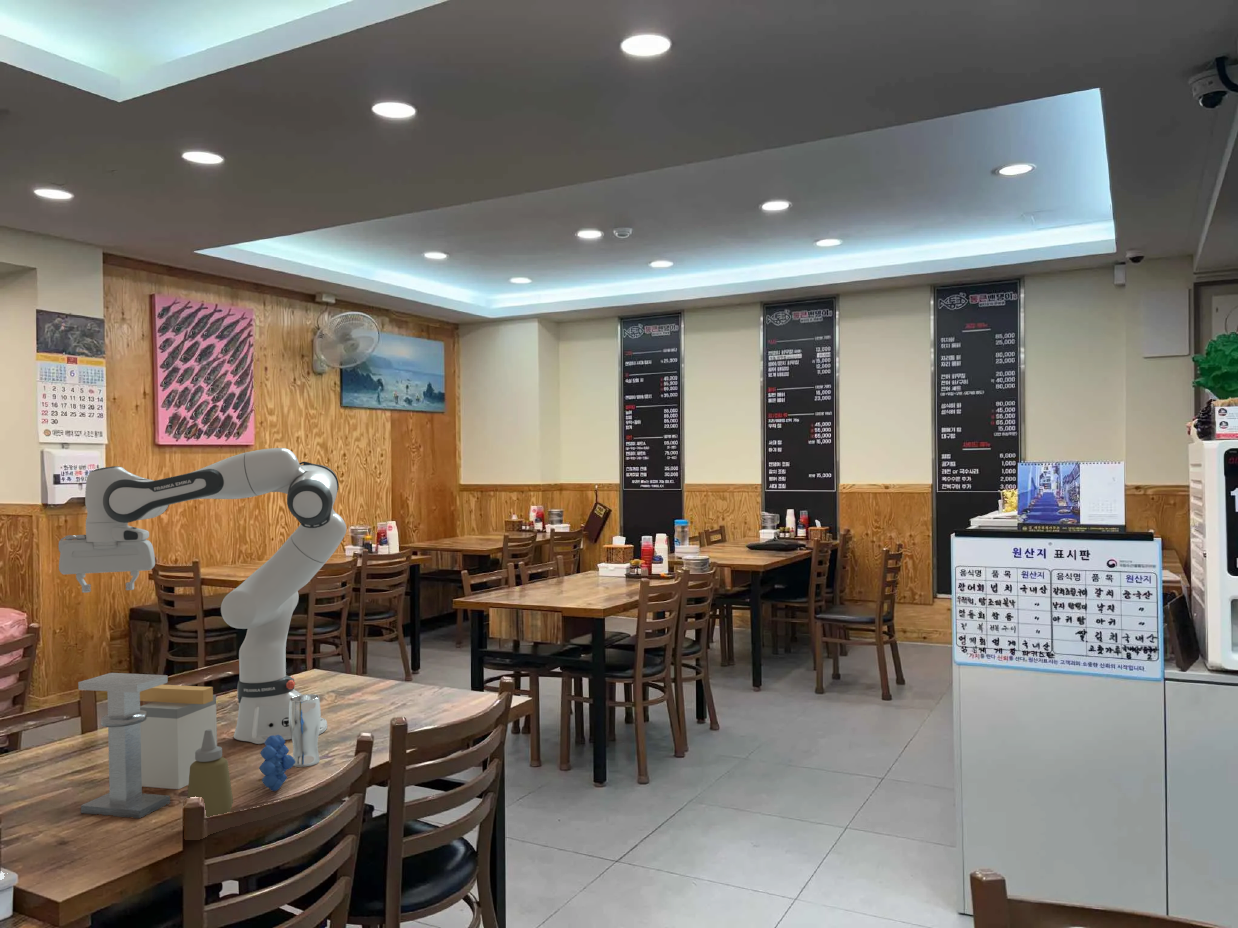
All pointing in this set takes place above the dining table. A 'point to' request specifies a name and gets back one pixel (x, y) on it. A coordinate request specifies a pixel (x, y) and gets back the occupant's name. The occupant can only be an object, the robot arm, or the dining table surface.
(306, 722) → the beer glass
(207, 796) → the squeeze bottle
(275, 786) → the grapes
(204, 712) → the white lidded box
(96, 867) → the dining table surface
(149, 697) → the bracket bar
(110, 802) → the post
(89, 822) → the dining table surface
